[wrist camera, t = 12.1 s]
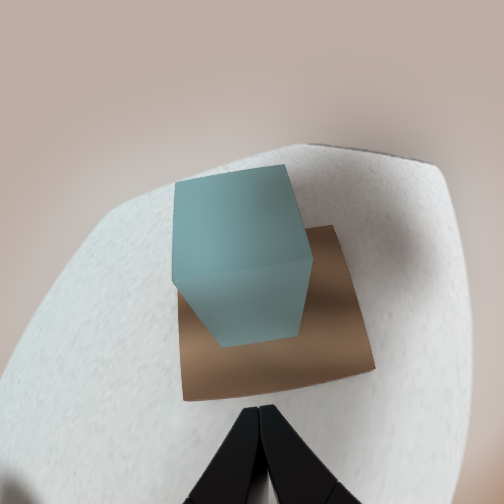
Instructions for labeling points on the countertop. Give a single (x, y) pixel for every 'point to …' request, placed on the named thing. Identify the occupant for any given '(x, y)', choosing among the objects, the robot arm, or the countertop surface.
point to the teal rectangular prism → (241, 254)
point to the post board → (287, 349)
